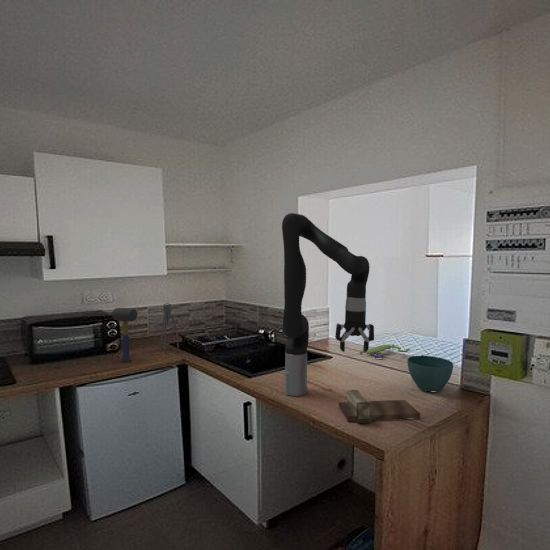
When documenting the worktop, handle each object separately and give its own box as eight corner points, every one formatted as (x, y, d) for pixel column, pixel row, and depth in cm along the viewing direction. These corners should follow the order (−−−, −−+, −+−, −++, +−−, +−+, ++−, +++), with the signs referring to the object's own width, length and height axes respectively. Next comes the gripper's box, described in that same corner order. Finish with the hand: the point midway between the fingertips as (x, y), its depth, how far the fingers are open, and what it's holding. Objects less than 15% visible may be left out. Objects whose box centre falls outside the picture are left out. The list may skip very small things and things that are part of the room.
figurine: (413, 358, 202) (414, 348, 202) (370, 361, 197) (370, 351, 196) (396, 350, 220) (396, 341, 220) (356, 353, 215) (356, 343, 214)
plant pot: (415, 378, 167) (416, 353, 167) (457, 388, 155) (458, 360, 155) (400, 389, 154) (400, 361, 153) (445, 400, 142) (446, 370, 141)
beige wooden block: (358, 423, 122) (358, 404, 122) (346, 406, 136) (346, 389, 136) (369, 422, 122) (369, 404, 122) (356, 405, 136) (356, 389, 136)
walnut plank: (348, 422, 124) (348, 416, 124) (339, 407, 136) (339, 402, 136) (419, 418, 126) (419, 413, 126) (404, 404, 138) (404, 399, 138)
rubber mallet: (139, 360, 200) (138, 307, 199) (130, 364, 193) (128, 309, 192) (122, 358, 205) (120, 306, 203) (112, 361, 198) (110, 308, 196)
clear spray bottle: (161, 350, 223) (160, 302, 221) (178, 350, 222) (178, 302, 221) (155, 354, 213) (154, 304, 211) (173, 354, 212) (172, 304, 211)
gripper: (339, 310, 130) (337, 354, 131) (377, 310, 131) (375, 354, 132) (334, 307, 137) (333, 348, 138) (370, 307, 138) (369, 348, 139)
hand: (354, 351), depth 135 cm, fingers open, 8 cm apart
